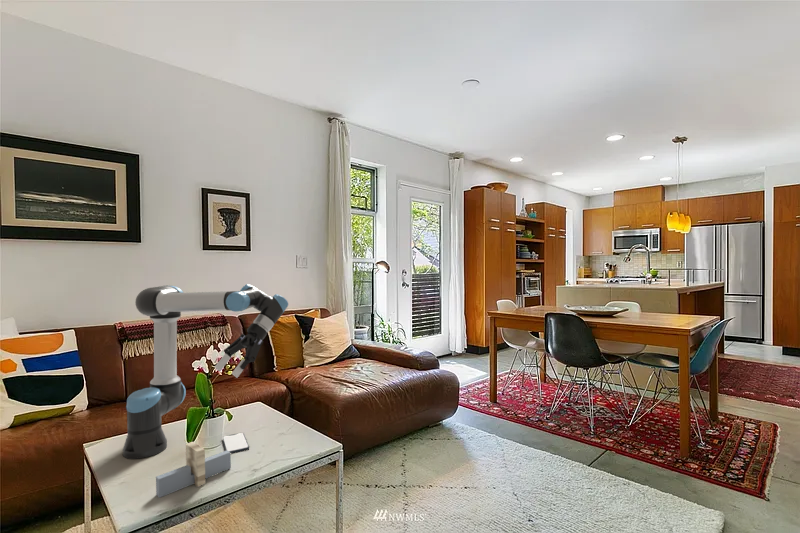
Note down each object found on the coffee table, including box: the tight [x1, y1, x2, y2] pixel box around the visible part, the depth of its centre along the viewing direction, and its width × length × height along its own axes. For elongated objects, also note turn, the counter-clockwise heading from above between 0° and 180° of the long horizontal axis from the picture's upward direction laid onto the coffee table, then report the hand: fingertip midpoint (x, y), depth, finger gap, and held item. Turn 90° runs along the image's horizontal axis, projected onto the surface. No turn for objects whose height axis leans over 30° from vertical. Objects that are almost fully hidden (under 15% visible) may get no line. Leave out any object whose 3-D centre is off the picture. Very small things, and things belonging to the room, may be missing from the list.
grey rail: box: [155, 450, 232, 498], centre depth 146 cm, size 2×24×6 cm, turn 139°
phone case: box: [222, 432, 250, 454], centre depth 174 cm, size 9×2×16 cm
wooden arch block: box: [185, 441, 206, 488], centre depth 146 cm, size 9×2×12 cm, turn 49°
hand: (225, 372), depth 162 cm, fingers open, 13 cm apart
